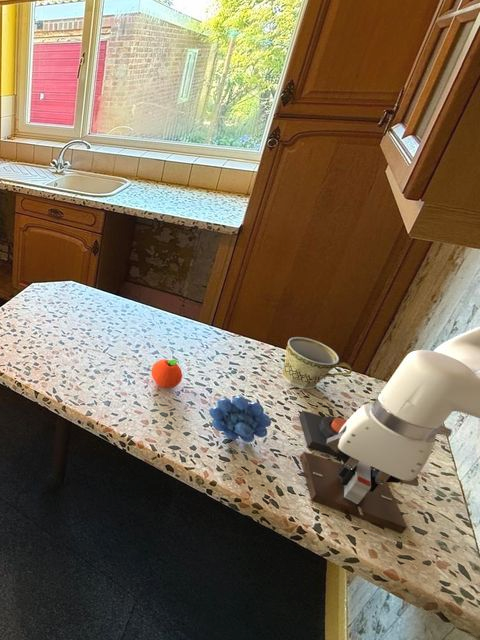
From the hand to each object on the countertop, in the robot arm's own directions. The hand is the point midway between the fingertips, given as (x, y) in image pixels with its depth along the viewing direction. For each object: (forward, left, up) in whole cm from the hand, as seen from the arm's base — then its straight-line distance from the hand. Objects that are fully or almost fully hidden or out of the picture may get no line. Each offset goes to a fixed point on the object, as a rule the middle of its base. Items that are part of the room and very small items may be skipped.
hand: (352, 483), depth 75 cm
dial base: (0, 0, -3) cm, 3 cm away
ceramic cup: (+1, -31, -3) cm, 31 cm away
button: (-1, -13, +1) cm, 13 cm away
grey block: (0, 0, -1) cm, 1 cm away
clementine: (+33, -15, -3) cm, 36 cm away
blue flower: (+19, -3, -3) cm, 19 cm away
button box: (-1, -13, -3) cm, 13 cm away
